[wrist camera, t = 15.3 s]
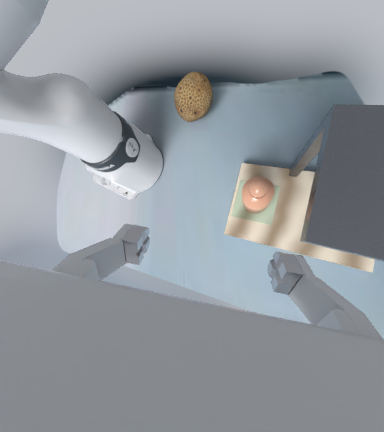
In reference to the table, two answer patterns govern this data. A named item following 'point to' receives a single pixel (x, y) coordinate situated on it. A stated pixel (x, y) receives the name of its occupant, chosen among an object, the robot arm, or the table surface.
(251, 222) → the birch board
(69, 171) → the table surface
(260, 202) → the terracotta bottle
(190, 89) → the natural sponge
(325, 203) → the tunnel roof
